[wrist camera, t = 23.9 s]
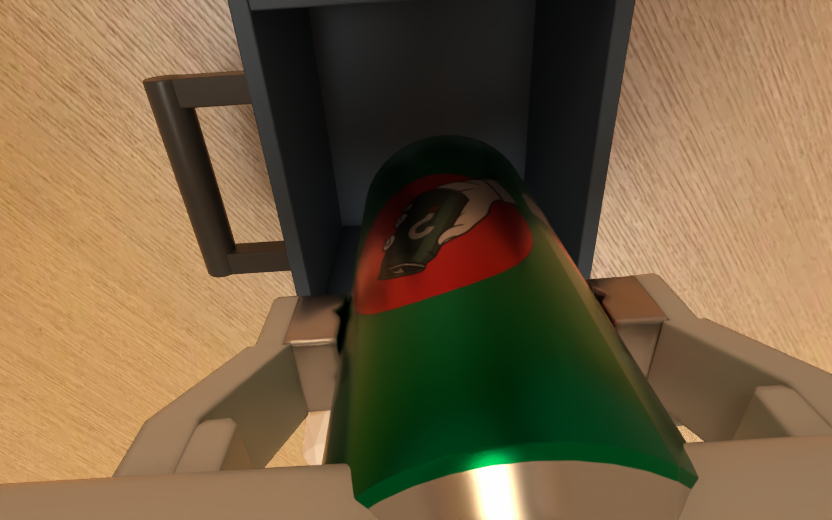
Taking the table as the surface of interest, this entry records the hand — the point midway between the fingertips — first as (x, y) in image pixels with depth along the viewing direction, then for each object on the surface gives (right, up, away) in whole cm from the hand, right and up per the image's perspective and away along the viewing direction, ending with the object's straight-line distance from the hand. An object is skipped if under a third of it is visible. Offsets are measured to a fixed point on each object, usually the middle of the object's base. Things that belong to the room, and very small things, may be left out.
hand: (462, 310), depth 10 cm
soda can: (0, +3, +5) cm, 6 cm away
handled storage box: (-2, +9, +15) cm, 18 cm away
